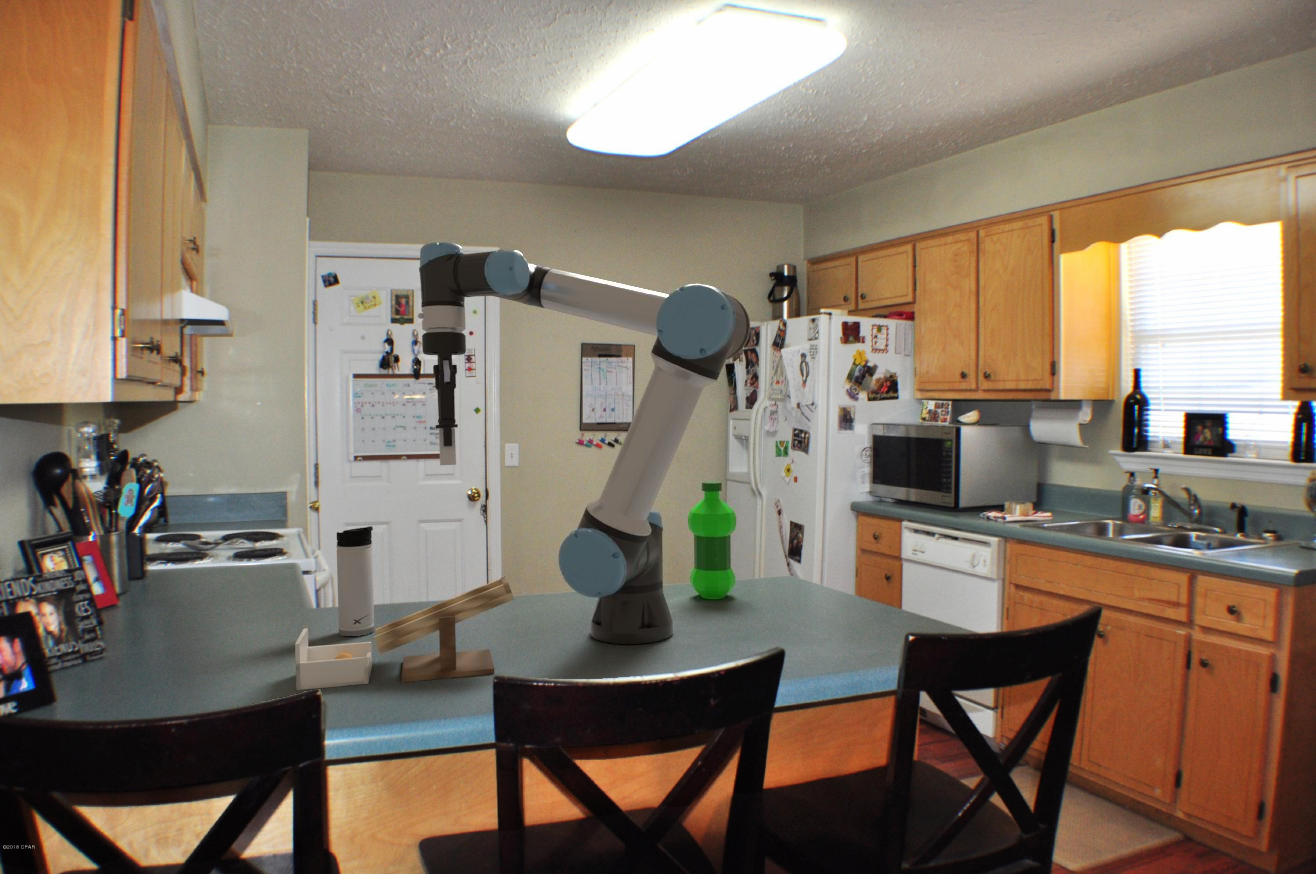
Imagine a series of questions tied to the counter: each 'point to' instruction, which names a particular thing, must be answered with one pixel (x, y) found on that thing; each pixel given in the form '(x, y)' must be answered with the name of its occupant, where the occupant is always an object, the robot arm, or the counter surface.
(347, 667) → the white open box
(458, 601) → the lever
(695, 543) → the plastic bottle
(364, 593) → the travel mug
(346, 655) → the ball
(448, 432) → the robot arm
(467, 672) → the stand
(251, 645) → the counter surface
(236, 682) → the counter surface
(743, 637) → the counter surface
